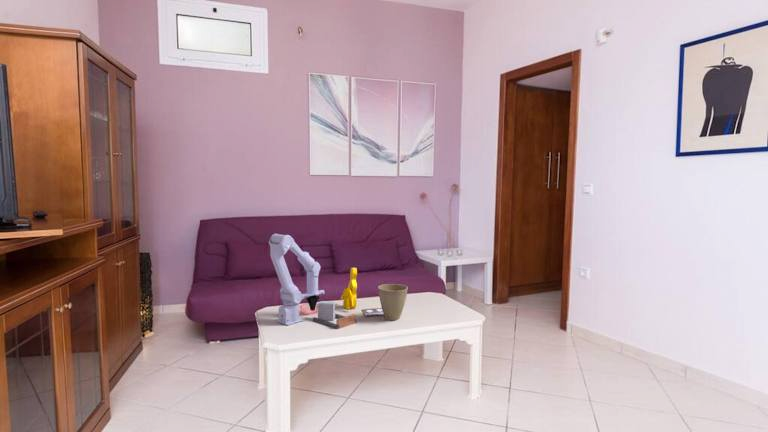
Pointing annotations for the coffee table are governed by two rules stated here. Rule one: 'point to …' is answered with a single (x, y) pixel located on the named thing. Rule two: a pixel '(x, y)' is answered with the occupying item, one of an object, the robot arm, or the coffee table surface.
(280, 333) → the coffee table surface
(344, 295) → the figure statuette
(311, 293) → the robot arm
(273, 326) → the coffee table surface
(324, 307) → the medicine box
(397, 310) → the plant pot
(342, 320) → the grey and brown pieces
